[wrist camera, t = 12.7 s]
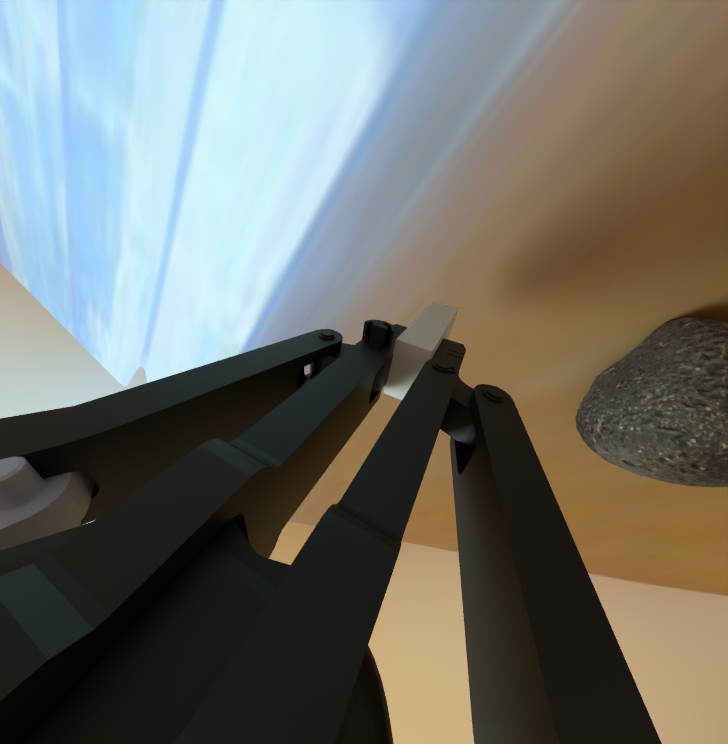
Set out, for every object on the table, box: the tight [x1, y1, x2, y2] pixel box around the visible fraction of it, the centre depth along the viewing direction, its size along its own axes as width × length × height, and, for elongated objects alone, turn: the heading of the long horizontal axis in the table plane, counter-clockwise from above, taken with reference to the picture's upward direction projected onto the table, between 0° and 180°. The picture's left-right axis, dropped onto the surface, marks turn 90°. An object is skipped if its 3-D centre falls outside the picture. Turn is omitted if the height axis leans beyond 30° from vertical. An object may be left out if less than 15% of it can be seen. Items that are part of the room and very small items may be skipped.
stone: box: [575, 317, 728, 487], centre depth 15 cm, size 10×8×10 cm
